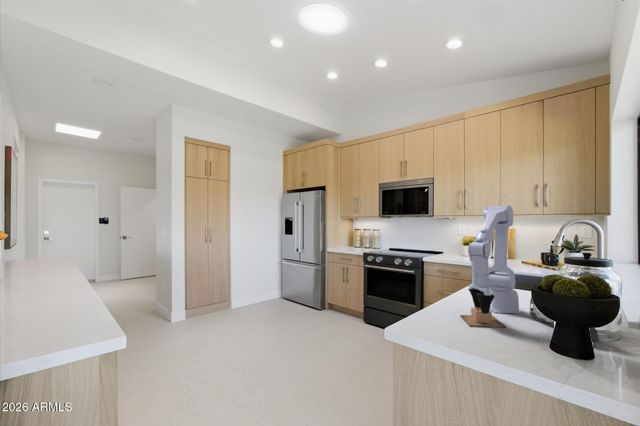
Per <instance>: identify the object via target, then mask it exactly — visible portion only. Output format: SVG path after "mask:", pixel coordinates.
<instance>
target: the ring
mask: <svg viewBox="0 0 640 426" xmlns="http://www.w3.org/2000/svg"><path fill="white" fill-rule="evenodd" d="M479 309H481V308H476V307H475V306H474V307H472V306H471V307H470V315H471V318H472V319H473V320H474V321H475V322H479V323H492V316H493V314H492V313H493V311H492V310H491V309H490V310H489V314H483V313H482V312H481V311H479Z"/></svg>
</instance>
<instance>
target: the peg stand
mask: <svg viewBox="0 0 640 426" xmlns="http://www.w3.org/2000/svg"><path fill="white" fill-rule="evenodd" d="M479 311H481V309H479ZM459 316H460V318H461V319H462V320H463V321H464V323H466V325H468V326H469V327H470V328H491V329H492V328H495V329H496V328H497V329H501V328H502V329H506V328H507V326H506V324H504V323H503V322H501V321H500V320H499V319H497V317H495V316H494V315H492V323H479V322H475V321H474V320H473V319H472V318H471V314H460V315H459Z"/></svg>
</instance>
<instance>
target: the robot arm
mask: <svg viewBox="0 0 640 426" xmlns="http://www.w3.org/2000/svg"><path fill="white" fill-rule="evenodd" d="M483 218H484V223H483V226H482V227H483V228H480V229H479V230H478V231H477V233H476V236H475V238H474V240H473V241H472V242H471V243H469V244H468V246H467V253H468V256H469V261H470V262H471V265H470V267H471V284H469V285H468V287H469V288H468V291H469V293H470V295H471V298H472V301H473V306H474V307H476V308H481V312H482V313H483V314H489V310H490V311H491V312H492V313H496V314H497V313H498V314H520V313H521V312H520V305H519V295H518V292H517V290H515V288H516V277H515V272H514V270H513V269H511V268H510V267H509V266H508V242H509V241H508V240H509V229H510V227H512V226H513V224H514V210H513V207H512V206H511V205H510V204H509V205H496V206H495V205H494V206H488V205H487V206H485V207H484V209H483ZM493 240H494V247H493V248H494V249H493V250H494V251H493V253H494V254H493V265H492V266H490V267H489V258H490V256H491V253H492V250H491V249H492V242H493Z"/></svg>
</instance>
